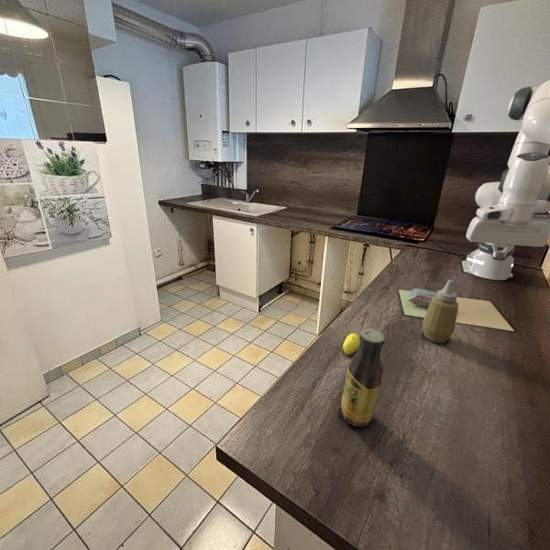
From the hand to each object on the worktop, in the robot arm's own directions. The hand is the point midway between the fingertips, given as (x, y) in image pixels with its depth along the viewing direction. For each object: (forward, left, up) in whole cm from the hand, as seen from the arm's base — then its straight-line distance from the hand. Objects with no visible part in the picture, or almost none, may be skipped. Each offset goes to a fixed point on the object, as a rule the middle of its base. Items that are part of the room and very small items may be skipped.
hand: (498, 257), depth 91 cm
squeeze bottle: (+21, -18, -20) cm, 34 cm away
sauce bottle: (+56, -39, -20) cm, 71 cm away
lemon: (+34, -41, -20) cm, 57 cm away
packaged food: (+1, -18, -20) cm, 26 cm away
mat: (0, -9, -20) cm, 21 cm away
